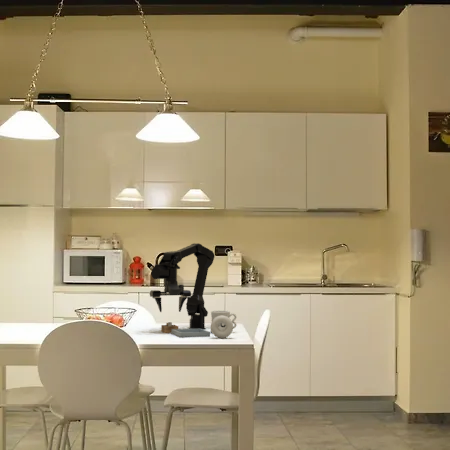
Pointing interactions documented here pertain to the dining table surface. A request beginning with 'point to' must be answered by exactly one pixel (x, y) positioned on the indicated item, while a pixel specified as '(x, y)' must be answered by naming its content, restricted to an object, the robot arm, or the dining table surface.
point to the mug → (224, 313)
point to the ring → (168, 328)
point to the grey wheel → (216, 330)
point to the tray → (190, 332)
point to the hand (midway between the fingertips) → (170, 312)
